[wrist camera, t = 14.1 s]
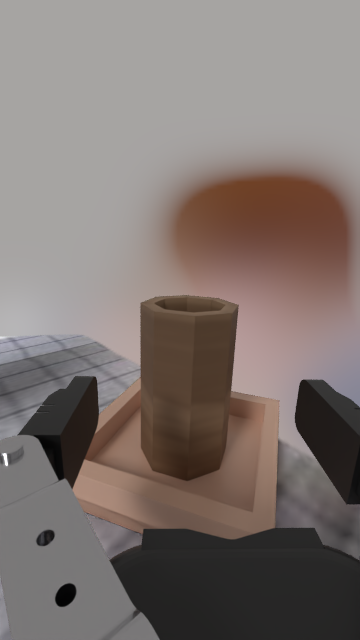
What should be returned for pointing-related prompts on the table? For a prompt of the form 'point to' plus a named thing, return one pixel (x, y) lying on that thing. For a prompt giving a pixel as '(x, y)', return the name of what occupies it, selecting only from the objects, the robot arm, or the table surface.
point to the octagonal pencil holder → (186, 383)
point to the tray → (175, 494)
